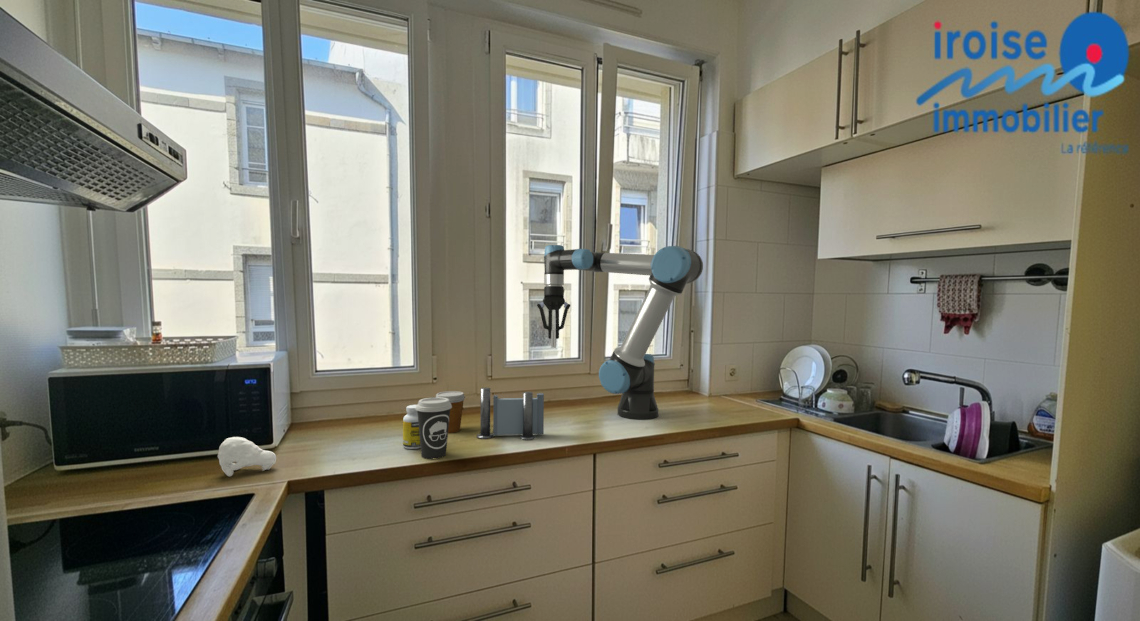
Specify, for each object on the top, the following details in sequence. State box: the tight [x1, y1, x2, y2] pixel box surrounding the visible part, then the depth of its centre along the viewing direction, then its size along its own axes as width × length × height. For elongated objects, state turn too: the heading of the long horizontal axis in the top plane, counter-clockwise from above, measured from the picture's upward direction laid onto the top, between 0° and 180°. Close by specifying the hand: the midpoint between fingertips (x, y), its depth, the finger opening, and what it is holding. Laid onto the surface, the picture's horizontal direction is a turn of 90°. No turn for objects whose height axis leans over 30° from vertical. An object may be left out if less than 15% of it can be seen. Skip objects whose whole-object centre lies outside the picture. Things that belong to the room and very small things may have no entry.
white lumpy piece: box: [217, 436, 277, 478], centre depth 115 cm, size 6×8×12 cm
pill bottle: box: [402, 404, 421, 450], centre depth 135 cm, size 6×6×12 cm
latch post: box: [519, 391, 537, 441], centre depth 144 cm, size 5×5×14 cm
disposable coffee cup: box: [435, 390, 466, 434], centre depth 152 cm, size 10×10×12 cm
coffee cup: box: [416, 396, 452, 460], centre depth 128 cm, size 10×10×15 cm
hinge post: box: [476, 387, 495, 440], centre depth 145 cm, size 5×5×15 cm
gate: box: [492, 392, 545, 436], centre depth 146 cm, size 16×2×12 cm, turn 96°
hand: (553, 347), depth 180 cm, fingers closed
